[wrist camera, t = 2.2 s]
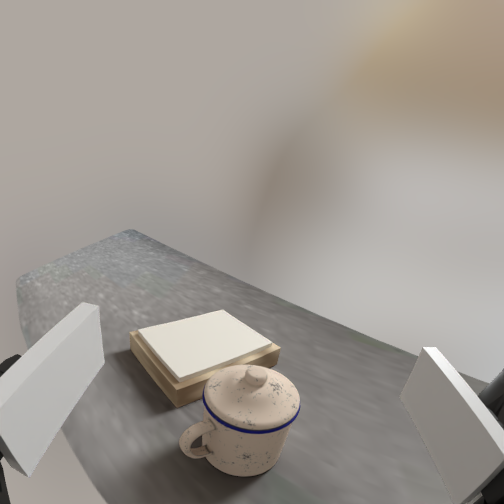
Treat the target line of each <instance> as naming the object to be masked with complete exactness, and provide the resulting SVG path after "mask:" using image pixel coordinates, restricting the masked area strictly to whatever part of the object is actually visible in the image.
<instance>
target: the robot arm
mask: <svg viewBox="0 0 504 504" xmlns="http://www.w3.org/2000/svg"><path fill="white" fill-rule="evenodd" d="M104 363H105V361H104V354H103V346H102V337H101V327H100V316H99V306H97V305H93V304H89V303H85V302H82V303H81V304H80V305H79V306H77V307H76V308H75V309H74V310H73V311H72V312H70V313H69V314H68V315H67V316H66V317H65V318H63V319H62V320H61V321H60V322H59V323H58V324H57V325H56V326H54V327H53V328H52V329H51V330H50V331H49V332H48V333H47V334H45V335H44V336H43V337H42V338H41V339H40V340H39V341H38V342H37V343H36V344H35V345H33V346H32V347H31V348H30V349H29V350H28V351H27V352H26V353H25V354H24V355H23V356H20V355H18V354H17V355H14V356H13V357H10V358H8V359H6V360H5V361H3V363H1V364H0V460H1V459H2V457H3V456H4V458H5V459H6V460H7V462H8V463H9V464H10V466H11V467H12V468H14V469H16V470H17V471H19V472H20V473H22V474H24V475H25V476H27V477H30V476H31V474H32V472H33V471H34V469H35V467H36V466H37V464H38V462H39V461H40V459H41V457H42V456H43V454H44V453H45V451H46V449H47V448H48V446H49V444H50V443H51V441H52V440H53V438H54V437H55V435H56V434H57V432H58V430H59V429H60V427H61V426H62V424H63V423H64V421H65V420H66V418H67V417H68V415H69V414H70V412H71V411H72V409H73V408H74V406H75V405H76V403H77V402H78V400H79V399H80V397H81V396H82V394H83V393H84V391H85V390H86V389H87V387H88V386H89V384H90V383H91V381H92V380H93V378H94V377H95V376H96V374H97V373H98V371H99V370H100V369H101V367H102V366H103V364H104ZM399 397H400V399H401V401H402V402H403V404H404V406H405V408H406V410H407V412H408V413H409V415H410V417H411V419H412V421H413V423H414V425H415V426H416V428H417V430H418V432H419V434H420V436H421V438H422V440H423V442H424V444H425V446H426V448H427V449H428V451H429V453H430V455H431V457H432V459H433V461H434V463H435V465H436V467H437V469H438V471H439V474H440V476H441V478H442V480H443V482H444V484H445V486H446V488H447V490H448V492H449V495H450V497H451V499H452V501H453V503H454V504H465V503H467V502H469V501H471V500H472V499H473V498H474V497H475V496H476V495H477V494H478V493H480V492H481V493H482V495H483V496H482V497H481V498H479V499H478V500H477V501H476V502H475V503H474V504H504V369H503V370H502V372H501V373H500V374H499V375H498V376H497V377H496V378H495V379H494V380H493V381H492V382H491V383H490V384H489V385H488V386H487V387H486V388H485V389H484V390H483V391H482V392H481V393H480V394H479V395H478V396H477V395H476V394H475V393H474V391H473V390H472V389H471V388H470V387H469V385H468V384H467V383H466V382H465V381H464V379H463V378H462V377H461V376H460V375H459V373H458V372H457V371H456V370H455V369H454V368H453V367H452V365H451V364H450V363H449V362H448V361H447V359H446V358H445V357H444V356H443V355H442V354H441V353H440V351H439V350H438V349H437V348H436V347H423V348H422V350H421V353H420V355H419V357H418V359H417V362H416V364H415V366H414V368H413V370H412V372H411V374H410V376H409V378H408V380H407V382H406V384H405V386H404V388H403V390H402V392H401V394H400V396H399ZM0 504H10V500H9V495H8V491H7V487H6V482H5V477H4V472H3V468H2V465H1V462H0Z"/></svg>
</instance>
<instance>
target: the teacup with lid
mask: <svg viewBox="0 0 504 504" xmlns="http://www.w3.org/2000/svg"><path fill="white" fill-rule="evenodd" d="M202 397H203V403H204V417H203V421H201V422H199V423H196V424H194V425H192V426H191V427H189V428H188V429H187V430H186V431H185V432H184V433H183V434H182V435H181V437H180V440H179V445H180V448H181V450H182V451H183V452H184V454H185V455H187V456H188V457H191V458H203V457H206V458H207V460H208V461H209V462H210V463H211V464H212V465H213V466H214V467H216V468H217V469H219V470H220V471H222V472H225V473H227V474H230V475H235V476H254V475H258V474H261V473H264V472H266V471H267V470H269V469H270V468H272V467H273V466H274V465H275V463H276V462H277V460H278V459H279V456H280V454H281V451H282V449H283V446H284V443H285V441H286V438H287V436H288V433H289V430H290V428H291V425H292V422H293V421H294V420H295V418H296V417H297V415H298V413H299V410H300V398H299V394H298V392H297V390H296V388H295V386H294V385H293V384H292V383H291V381H289V380H288V379H287V378H286V377H285V376H283V375H282V374H280V373H278V372H276V371H274V370H271V369H269V368H265V367H261V366H256V365H235V366H230V367H226V368H224V369H221V370H219V371H218V372H216V373H215V374H213V375H212V376H211V377H210V378H209V380H208V381H207V383H206V384H205V386H204V389H203V394H202ZM201 435H202V446H200V447H196V448H191V444H192V443H193V441H194V440H196V439H197V438H198V437H200V436H201Z"/></svg>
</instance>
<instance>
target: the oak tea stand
mask: <svg viewBox="0 0 504 504" xmlns="http://www.w3.org/2000/svg"><path fill="white" fill-rule="evenodd" d="M130 347H131V351H132V352H133V353H134V355H135V356H136V357H137V359H138V360H139V361H140V363H141V364H142V365H143V367H144V368H145V369H146V371H147V372H148V373H149V375H150V376H151V377H152V378H153V380H154V381H155V382H156V383H157V385H158V386H159V387H160V388H161V390H162V391H163V392H164V393H165V394H166V396H167V397H168V398H169V399H170V400H171V402H172V403H173V404H174V405H175V406H176V407H177V408H178V407H181V406H183V405H186V404H189V403H191V402H194V401H196V400H199V399H201V398H203V397H202V394H203V389H204V386H205V384H206V383H207V381H208V380H209V378H210V377H211V376H212V375H213V374H215V373H216V372H218V371H219V370H221V369H224V368H226V367H230V366H235V365H256V366H261V367H265V368H270V367H272V366H274V365H276V364H277V361H278V357H279V353H280V349H281V348H280V347H279V346H277V345H275V344H274V343H272V342H271V341H269V340H268V339H266V338H265V337H263V336H262V335H260V334H259V333H257V332H255V331H254V330H252V329H251V328H249V327H248V326H246V325H245V324H243V323H242V322H240V321H239V320H237V319H236V318H234V317H233V316H231V315H230V314H228V313H227V312H225V311H224V310H219V311H215V312H211V313H207V314H203V315H199V316H195V317H191V318H187V319H183V320H178V321H174V322H170V323H166V324H161V325H157V326H152V327H148V328H143V329H139V330H137V331H133V332H130Z"/></svg>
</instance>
